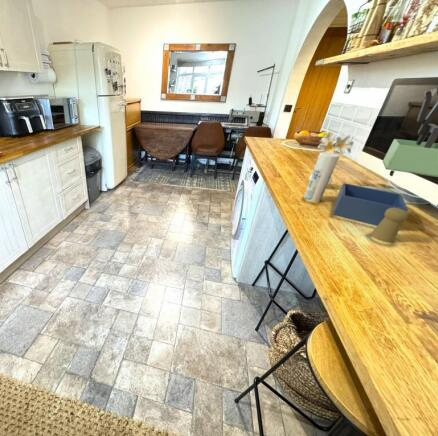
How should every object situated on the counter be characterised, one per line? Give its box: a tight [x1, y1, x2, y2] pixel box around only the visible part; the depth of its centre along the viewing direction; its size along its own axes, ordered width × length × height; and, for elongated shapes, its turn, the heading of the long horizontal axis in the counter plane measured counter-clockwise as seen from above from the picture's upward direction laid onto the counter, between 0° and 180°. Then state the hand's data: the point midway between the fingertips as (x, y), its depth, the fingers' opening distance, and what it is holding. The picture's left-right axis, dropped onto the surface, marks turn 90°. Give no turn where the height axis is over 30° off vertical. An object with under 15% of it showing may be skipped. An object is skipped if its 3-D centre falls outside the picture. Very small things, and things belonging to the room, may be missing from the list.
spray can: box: [303, 151, 340, 203], centre depth 98 cm, size 6×6×20 cm
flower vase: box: [308, 131, 355, 187], centre depth 110 cm, size 13×18×25 cm
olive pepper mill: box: [370, 208, 409, 244], centre depth 75 cm, size 6×6×11 cm
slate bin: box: [332, 182, 409, 227], centre depth 90 cm, size 18×16×9 cm
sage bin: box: [382, 123, 438, 178], centre depth 86 cm, size 14×12×15 cm
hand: (423, 144), depth 85 cm, fingers closed on sage bin, 2 cm apart
